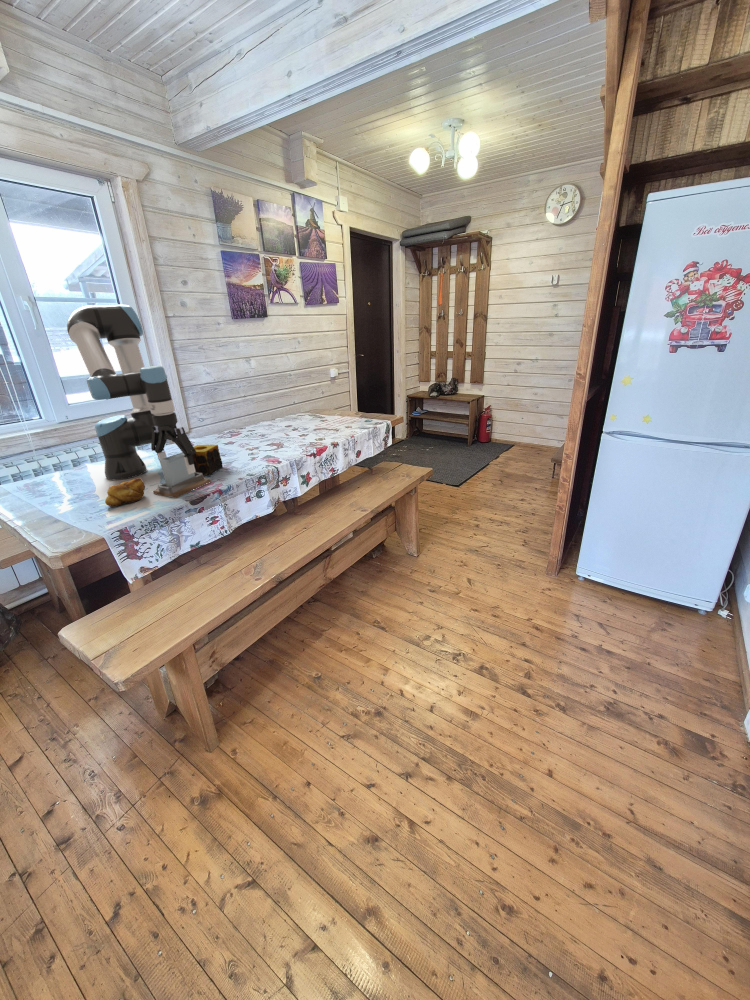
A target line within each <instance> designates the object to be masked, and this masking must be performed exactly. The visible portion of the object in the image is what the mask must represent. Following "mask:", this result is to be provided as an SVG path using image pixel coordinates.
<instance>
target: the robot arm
mask: <svg viewBox="0 0 750 1000" xmlns="http://www.w3.org/2000/svg"><path fill="white" fill-rule="evenodd" d="M66 329H67V333H68V336H69V338H70V340H71V341H72V342H73V344H75V345H76V346H77V349H78V351H79V353H80V356H81V357H82V361H83V362H84V364H85V367H86V370H87V372H88V374H89V377H88V378H86V384H87V387H88V388H87V389H88V391H89V393H90V396H91V398H92V399H93V400H95V401H103V400H106V401H107V400H112V399H119V398H125V397H129V399H130V402H131V405H132V410H131V412H130V416H131V417H129V418H128V417H127V416H126V415H125V414H119V415H114V416H111V417H106V418H103V419H101V420H100V421H98V422H96V423H95V425H94V429H95V432H96V437H97V438H98V441H99V444H100V448H101V450H102V454H103V457H104V475H105V478H106V479H107V480H111V481H117V480H118V481H119V480H126V479H131V478H134V477H138V476H140V475H142V474H144V473H146V472H147V470H148V469H147V465H146V463H145V462H144V460H143V459H142V458H141V457H140V455H139V454H138V451H137V449H136V447H141V446H145V445H151V446H150V448H151V451H154V452H155V453H156V455H157V459H158V461H159V462H160V460H162V459H164V458H167V457H168V456H167V452H166V451H165V446H166V443H167V441H171V442H172V443H174V444H175V445H176V446H177V447H178V449H179V450H180V451H181V452H183V453H184V455H185V456H184V459H185V463H186V467H187V471H188V474H192V473H194V472H196V471H195V467H194V460H193V456H192V455H193V454H195V453H196V450H195V449H194V445H193V444H192V441H190V440H191V439H189V436H188V435H187V433H186V430H185V427H183V426H182V427H178V426H177V423H178V418H177V413H176V412H175V411H176V408H175V405H174V401H173V396H172V394H171V390H170V389H171V388H170V386H169V381H168V375H167V373H166V371H165V368H164V367H163V366H161V365H151V366H145V364H144V360H143V357H142V353H141V350H140V347H139V344H140V343H141V337H142V336H143V335H144V331H143V328H142V323H141V321H140V319H139V316H138V315H137V313H136V311H135V310H134V308H133V307H131V306H130V305H128V304H107V305H106V304H105V305H85V306H81V307H79V308H77V309H75V310H74V311H73V312H72V313H71V314H70V317H69V318H68V320H67V324H66ZM100 339H101V340H102V339H106V340H107V343H108V344H109V345H110V346H111V347H113V349H114V351H115V354H116V357H117V361H118V364H119V367H120V370H121V373H116V371H115V369H114V366H113V365H112V363H111V361H110V359H109V356H108V354H107V353H106V351H105V349H104V347H103V344H102V342H101V340H100ZM191 450H192V451H191ZM187 452H188V453H187ZM160 467H161V466H160ZM161 469H162V467H161Z"/></svg>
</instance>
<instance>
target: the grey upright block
mask: <svg viewBox="0 0 750 1000" xmlns="http://www.w3.org/2000/svg"><path fill="white" fill-rule="evenodd" d="M184 456H185V455H184V453H183V452H182V451H181V452H179V453H176V454H173V455H171V456H167V458H164V459H162V460H160V461H159V463H160V467H162V468H161V471H162V474H163V477H164V481H165V482H166V485H167V487H172V486H174V485H176V484H179V483H181V482H183V481H185V480H188V479H190V478H192V477H195V474H194V473H192V474H188V471H187V467H186V463H185V459H184ZM165 482H164V483H165Z"/></svg>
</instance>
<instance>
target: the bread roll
mask: <svg viewBox="0 0 750 1000" xmlns="http://www.w3.org/2000/svg"><path fill="white" fill-rule="evenodd" d="M145 489H146V486H145V483H144V481H143V479H142V478H140V477H137V478H133V479H131V480H127V481H123V482H121V483H119V484H118V483H117V484H113V485H111V486H109V487H108V489H107V495H108V496H106V498H105V500H104V503H105V504H106V505H107V507H120V506H122V505H123V506H124V504H129V503H130V504H131V503H136V502H137V501H140V500H142V499H143V497H145V496H144V495H145Z"/></svg>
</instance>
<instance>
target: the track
mask: <svg viewBox="0 0 750 1000" xmlns="http://www.w3.org/2000/svg"><path fill="white" fill-rule="evenodd" d="M194 474H195V477H192V478H190V479H188V480H185V481H183V482H181V483H179V484H176V485H174V486H172V487H167V485H166V482H163V483H160V484H159V485H157V489H153V490H152V493H153V495H159V496H162V497H163V496H164V497H170V498H175V499H179V497H182V496H184V495H186V494H188V492H189V493H191V492H192V491H191V490H193V489H195V490H196V488H197V489H199V488H201V487H203V486H202V485H204V484H206V483H208V484H210V483H212V480H211V478H208V477H207V478H206V477H204V475H203V473H198V472H194ZM209 482H210V483H209ZM206 485H207V484H206ZM200 486H201V487H200ZM204 486H205V485H204ZM198 487H199V488H198ZM190 491H191V492H190ZM193 491H194V490H193Z"/></svg>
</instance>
